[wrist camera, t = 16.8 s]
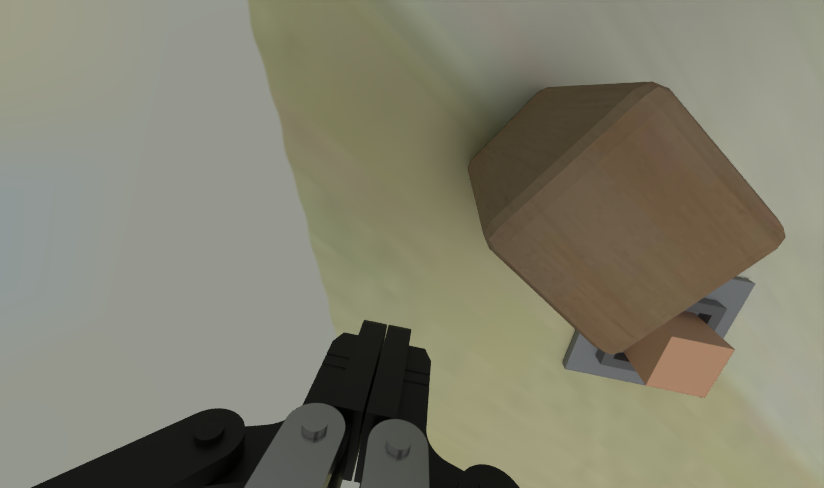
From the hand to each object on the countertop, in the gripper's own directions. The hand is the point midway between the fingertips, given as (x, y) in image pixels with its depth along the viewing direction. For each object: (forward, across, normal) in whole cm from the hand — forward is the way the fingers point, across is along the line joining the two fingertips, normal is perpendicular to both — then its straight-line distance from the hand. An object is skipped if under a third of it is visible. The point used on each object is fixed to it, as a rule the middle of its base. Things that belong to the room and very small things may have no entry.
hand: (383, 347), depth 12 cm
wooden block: (+27, -10, -3) cm, 29 cm away
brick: (+26, -26, +11) cm, 39 cm away
